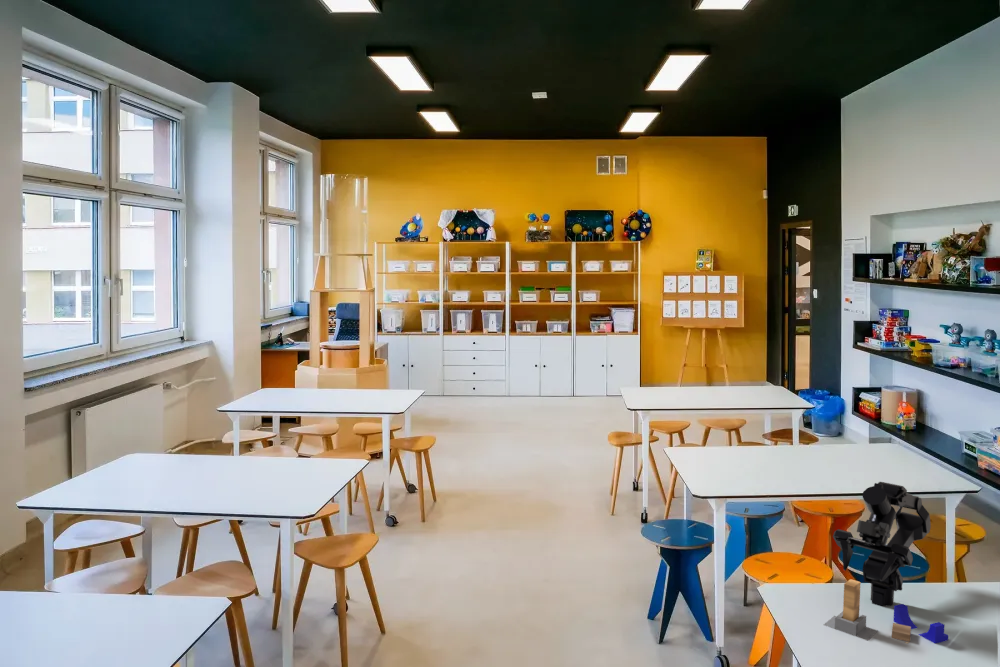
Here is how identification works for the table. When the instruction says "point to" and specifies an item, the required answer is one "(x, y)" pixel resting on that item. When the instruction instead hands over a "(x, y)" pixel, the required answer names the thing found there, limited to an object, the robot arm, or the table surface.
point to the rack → (852, 626)
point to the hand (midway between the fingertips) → (862, 575)
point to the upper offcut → (901, 632)
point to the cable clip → (932, 634)
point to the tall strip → (851, 600)
